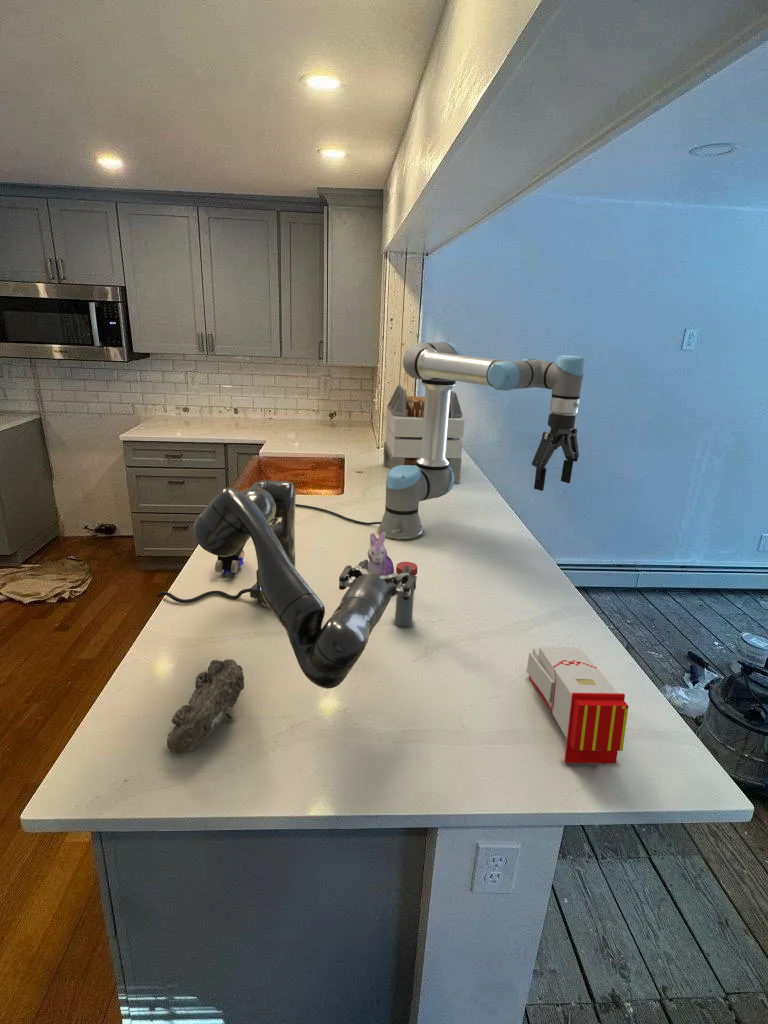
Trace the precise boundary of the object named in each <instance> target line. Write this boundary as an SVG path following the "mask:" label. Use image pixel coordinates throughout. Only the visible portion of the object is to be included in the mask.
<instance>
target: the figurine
mask: <svg viewBox="0 0 768 1024" xmlns="http://www.w3.org/2000/svg"><path fill="white" fill-rule="evenodd" d="M385 536H386V533H385V532H382V533H381V534H379V536H378V537H376V534H375V533H374V532H370V534H369V540H370V547H369V548H368V551H367V558H368V569H367V571H368V572H369V573H371V574H376V575H384V576H387V575H390V574H393V573H395V567H394V563H393V560H392V559H391V558H390V556H389V555H388V552H387V549H386V546H385V541H386V537H385Z"/></svg>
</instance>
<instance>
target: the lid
mask: <svg viewBox="0 0 768 1024" xmlns="http://www.w3.org/2000/svg"><path fill="white" fill-rule="evenodd" d="M405 565H406V566H409V568H411V575H415V576H417V575H418V565H417V564H416V563H414V562H412V561H400V562H397V564H396V565H395V566H396V567H395V572H396V574H401V573H402V571H403V569H404V567H405Z"/></svg>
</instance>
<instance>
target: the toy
mask: <svg viewBox="0 0 768 1024" xmlns="http://www.w3.org/2000/svg"><path fill="white" fill-rule="evenodd" d="M526 673H527V674H528V675H529V676H528V679H529V680H530V682H531V683H532V685H533V686H534V688H535V689H536V691H537V692H538V694H539V695H540V697H541V698H542V700H543V701H544V703H545V704H546V706H547V708H548V710H550V712H551V713H552V715H553V718H554V719H555V721H556V722H557V724H558V726H559V728H560V729H561V731H562V733H563V735H564V736H565V738H566V743H565V744H566V745H565V752H564V763H565V764H602V765H603V764H606V765H607V764H611V765H613V764H614V765H616V764H617V761H618V760H617V759H618V753H619V752H623V750H624V744H625V735H626V728H627V721H628V714H629V713H628V712H629V705H628V704H627V702H626V701H625V699H626V694H625V693H621V692H620V693H618V692H617V690H616V689H615V687H613V685H612V683H610V682H609V680H608V679H607V678H606V677H605V676H604V675H603V673H602V672H601V671H600V669H598V668H597V665H595V664H594V662H593V661H592V660H591V659H590V658H589V657H588V655H587V654H586V653H585V652H584V650H583V649H582V648H581V647H570V646H567V647H565V646H539V647H532V652H529V653H528V658H527V665H526Z"/></svg>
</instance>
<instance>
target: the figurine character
mask: <svg viewBox="0 0 768 1024" xmlns="http://www.w3.org/2000/svg"><path fill="white" fill-rule="evenodd" d="M246 544H247V542H246V543H245V544H244V545H243V546H242V547H241V548H240V549H239V550H238V551H237V552H236V553H235V554H233V555H231V556H226V557H222V556H217V560H216V562H215V564H214V572H215V573H221V577H222V578H224V577H225V576H226V574H227V573H230V574H231V573H232V574H231V578H234V577H235V575H236V573H237V572H239V571H240V567H242V566H243V565H244V564H245V562H244V558H245V551H244V547H245V546H246Z"/></svg>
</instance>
